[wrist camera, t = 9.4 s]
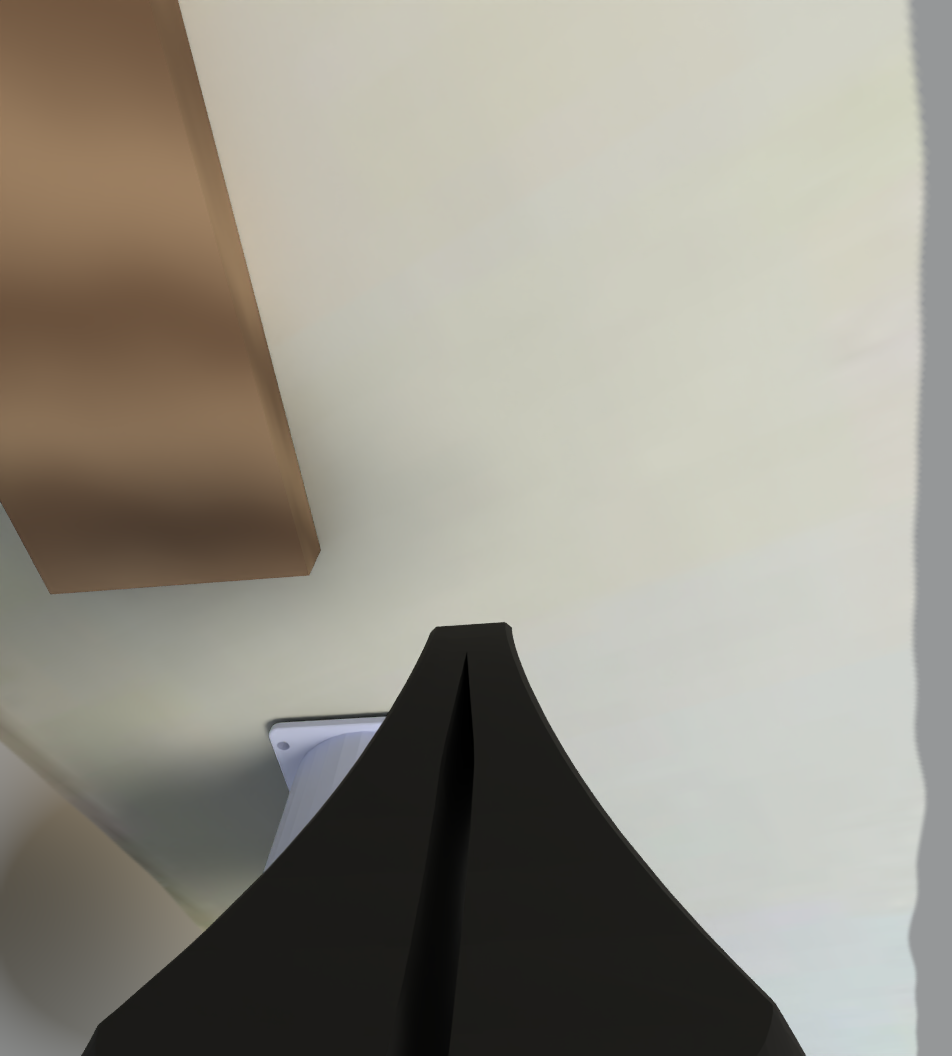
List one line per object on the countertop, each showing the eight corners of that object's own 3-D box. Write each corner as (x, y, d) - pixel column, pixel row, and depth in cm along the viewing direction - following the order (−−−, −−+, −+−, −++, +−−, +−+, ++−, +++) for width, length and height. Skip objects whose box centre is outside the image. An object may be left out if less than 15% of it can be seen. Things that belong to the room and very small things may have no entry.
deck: (320, 550, 21) (308, 575, 20) (78, 568, 22) (50, 594, 20) (163, -55, 14) (126, -84, 12) (-205, -2, 14) (-282, -24, 13)
